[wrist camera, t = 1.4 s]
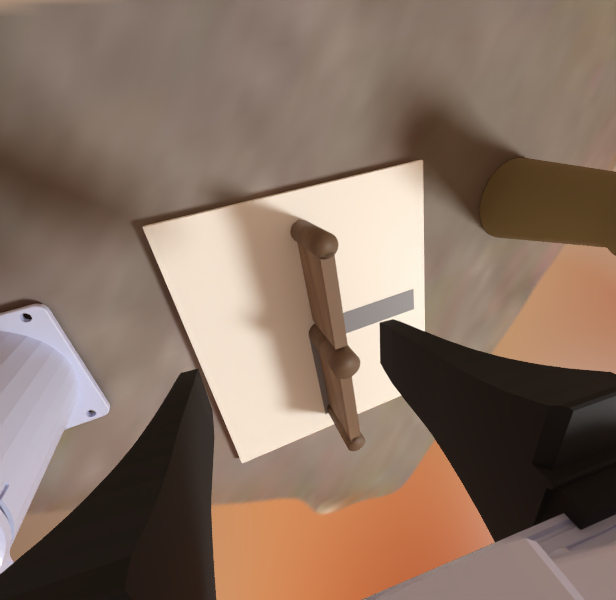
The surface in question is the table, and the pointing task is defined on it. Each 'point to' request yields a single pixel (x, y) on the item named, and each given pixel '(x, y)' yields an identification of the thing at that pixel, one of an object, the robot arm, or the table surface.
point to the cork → (551, 203)
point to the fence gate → (321, 279)
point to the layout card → (294, 296)
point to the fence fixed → (340, 387)
